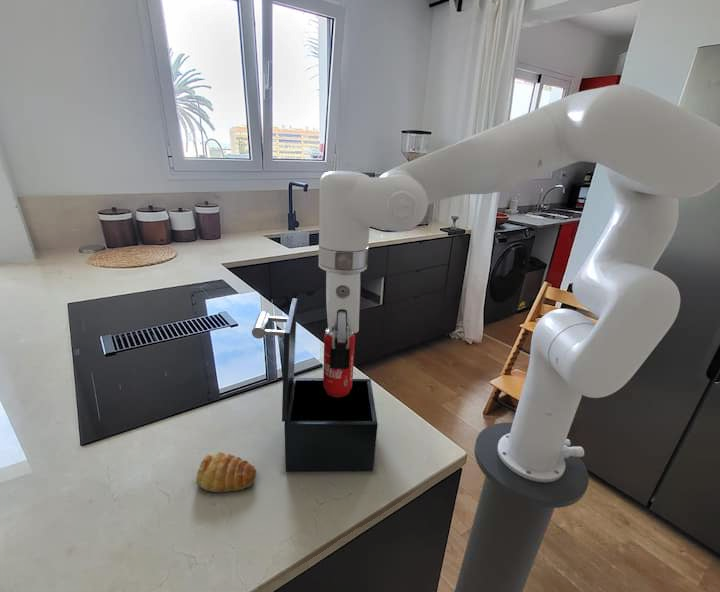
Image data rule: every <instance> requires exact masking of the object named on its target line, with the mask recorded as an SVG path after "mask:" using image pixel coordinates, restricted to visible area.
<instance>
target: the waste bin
mask: <svg viewBox="0 0 720 592" xmlns="http://www.w3.org/2000/svg"><path fill="white" fill-rule="evenodd" d="M373 392H374V391H373V386H372V379H371V378H353V380H352V388H351V390H350V392H349V394H348V395H346V396H344V397H339V398H336V397H331V396H329V395H328V394H327V393H326V391H325V389H324V386H323V377H322V378H321V377H309V378H308V377H294V379H293V385H292V392H291V398H290V404H289V411H288V417H287V422H283V423H284V425H283V426H284V456H285V458H284V459H285V462H284V463H285V472H287V473H304V472H305V473H307V472H308V473H312V472H313V473H317V472H319V473H321V472H322V473H326V472H332V473H333V472H373V471H374V466H375V465H374V464H375V455H376V446H377V445H376V444H377V435H378V426H379V425H378V423H379V422H378V418H377V412H376V405H375V399H374V398H375V397H374V393H373Z"/></svg>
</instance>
